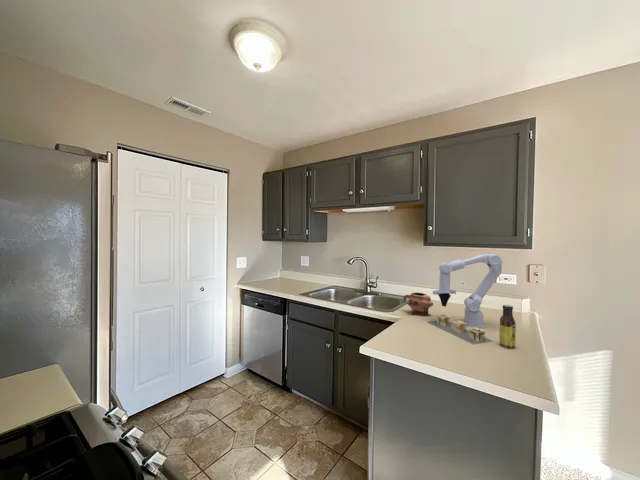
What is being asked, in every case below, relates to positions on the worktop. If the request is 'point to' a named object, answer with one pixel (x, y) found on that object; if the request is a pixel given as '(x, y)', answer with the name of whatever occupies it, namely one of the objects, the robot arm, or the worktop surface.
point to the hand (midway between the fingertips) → (443, 306)
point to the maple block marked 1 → (443, 320)
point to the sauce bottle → (507, 328)
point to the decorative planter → (419, 303)
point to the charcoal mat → (462, 335)
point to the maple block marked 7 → (476, 334)
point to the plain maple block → (458, 327)
